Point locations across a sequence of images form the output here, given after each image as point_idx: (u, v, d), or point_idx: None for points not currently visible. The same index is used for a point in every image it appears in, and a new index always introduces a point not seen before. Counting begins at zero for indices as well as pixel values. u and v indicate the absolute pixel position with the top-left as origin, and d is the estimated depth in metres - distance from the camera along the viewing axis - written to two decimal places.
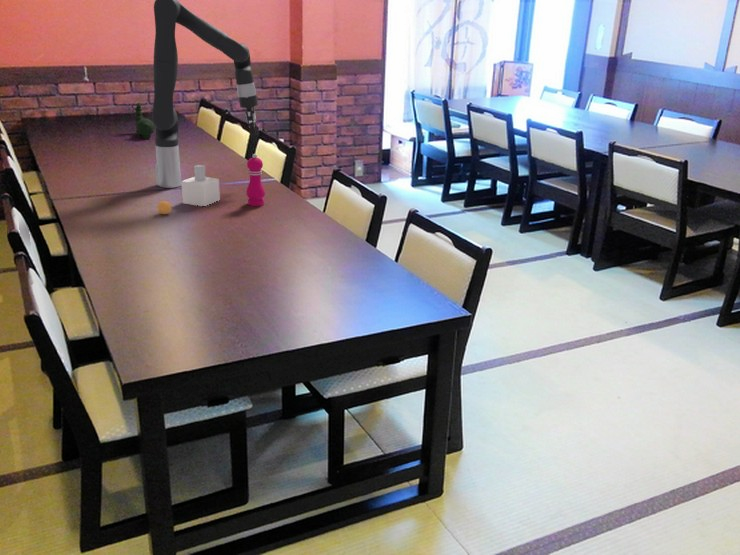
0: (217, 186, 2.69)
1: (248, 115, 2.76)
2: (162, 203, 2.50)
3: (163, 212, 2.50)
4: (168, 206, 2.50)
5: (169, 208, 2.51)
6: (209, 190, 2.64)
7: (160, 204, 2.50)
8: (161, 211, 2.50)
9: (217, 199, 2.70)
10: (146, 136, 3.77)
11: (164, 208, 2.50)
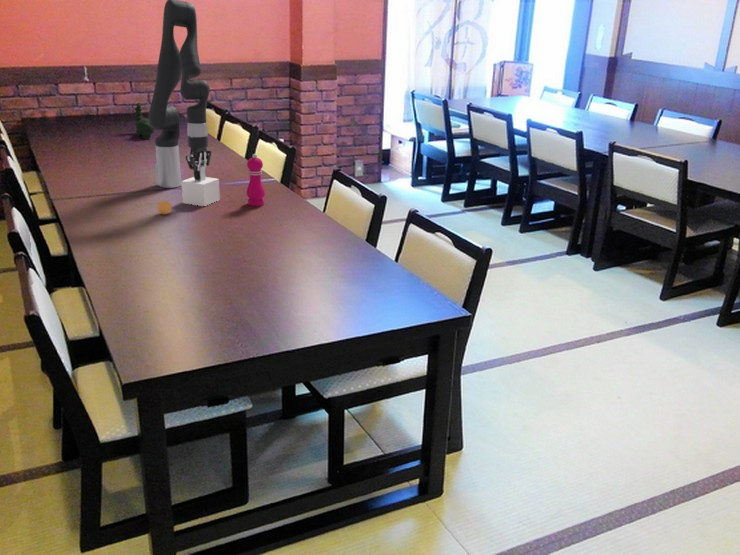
0: (217, 186, 2.69)
1: (188, 160, 2.58)
2: (162, 203, 2.50)
3: (163, 212, 2.50)
4: (168, 206, 2.50)
5: (169, 208, 2.51)
6: (209, 190, 2.64)
7: (160, 204, 2.50)
8: (161, 211, 2.50)
9: (217, 199, 2.70)
10: (146, 136, 3.77)
11: (164, 208, 2.50)
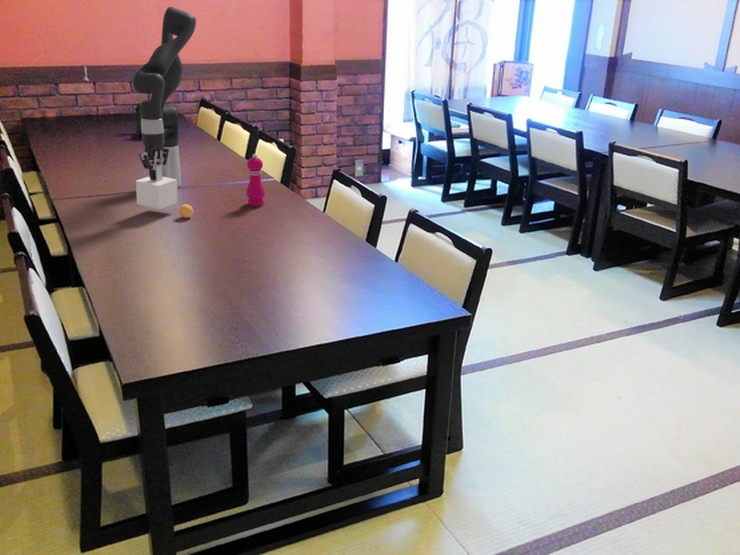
0: (175, 187, 2.52)
1: (142, 159, 2.40)
2: None
3: (182, 208, 2.47)
4: None
5: None
6: (165, 191, 2.47)
7: None
8: (182, 210, 2.46)
9: (174, 201, 2.53)
10: None
11: (179, 210, 2.47)
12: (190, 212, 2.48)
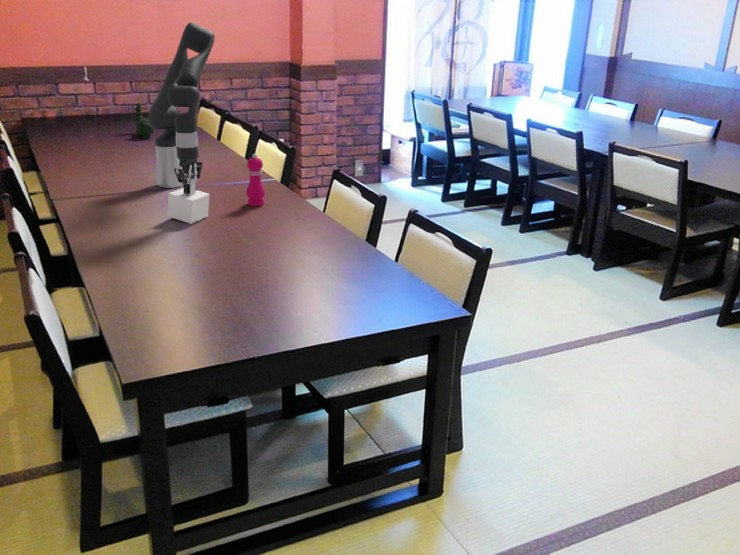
0: (207, 202, 2.48)
1: (177, 173, 2.37)
2: None
3: None
4: None
5: None
6: (198, 206, 2.44)
7: None
8: None
9: (205, 215, 2.50)
10: (146, 136, 3.77)
11: None
12: None
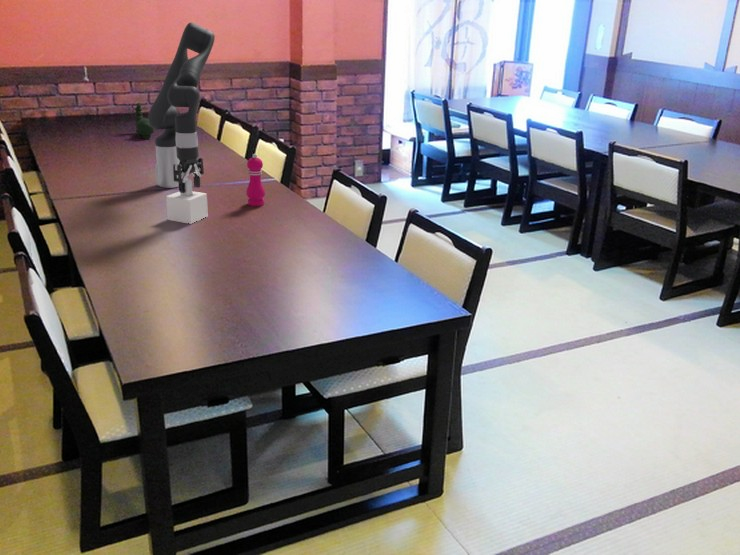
0: (205, 201, 2.49)
1: (175, 169, 2.35)
2: None
3: None
4: None
5: None
6: (196, 206, 2.44)
7: None
8: None
9: (205, 215, 2.50)
10: (146, 136, 3.77)
11: None
12: None
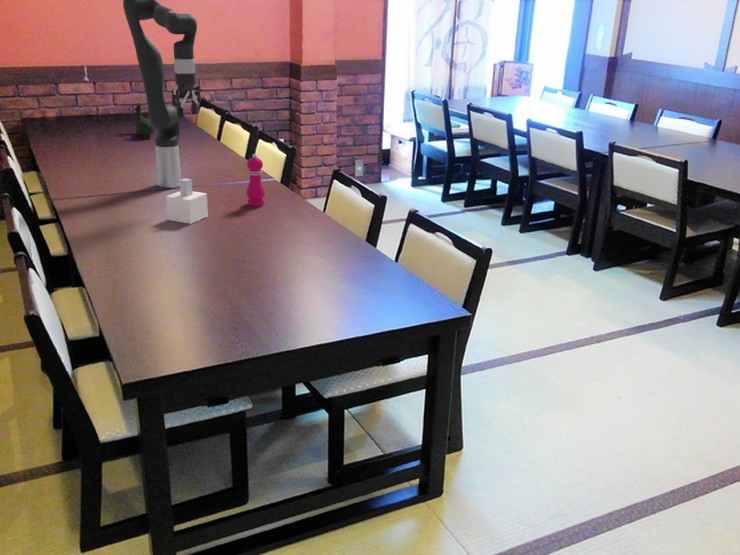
0: (205, 201, 2.49)
1: (173, 93, 2.49)
2: None
3: None
4: None
5: None
6: (196, 206, 2.44)
7: None
8: None
9: (205, 215, 2.50)
10: (146, 136, 3.77)
11: None
12: None
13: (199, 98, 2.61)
